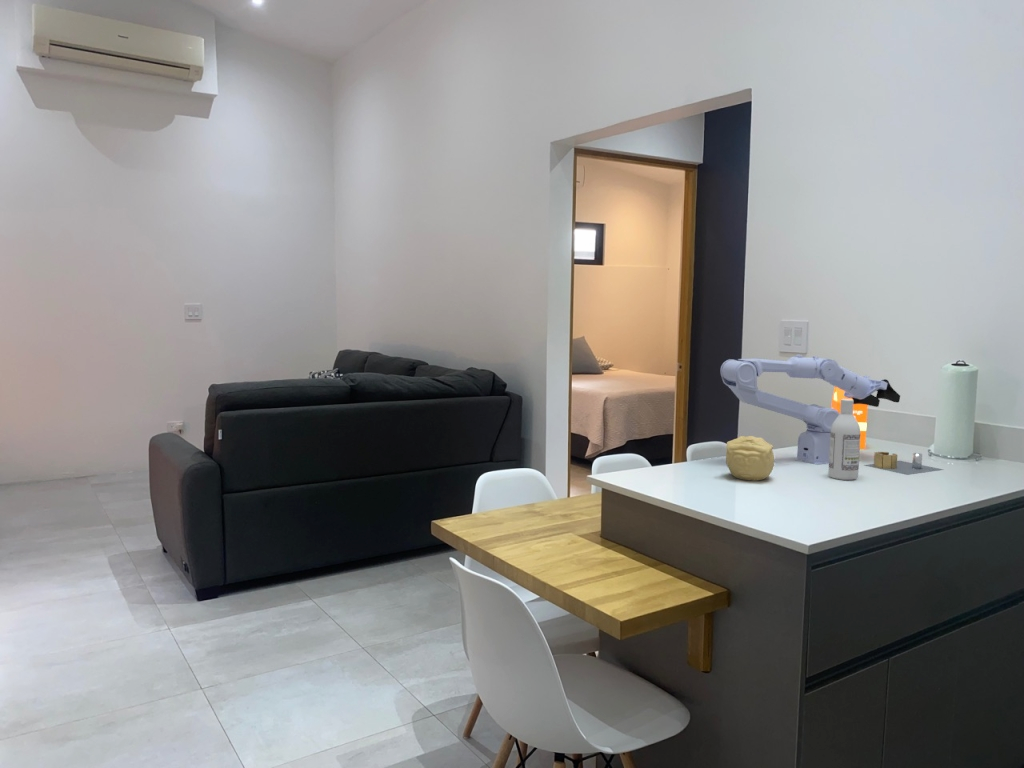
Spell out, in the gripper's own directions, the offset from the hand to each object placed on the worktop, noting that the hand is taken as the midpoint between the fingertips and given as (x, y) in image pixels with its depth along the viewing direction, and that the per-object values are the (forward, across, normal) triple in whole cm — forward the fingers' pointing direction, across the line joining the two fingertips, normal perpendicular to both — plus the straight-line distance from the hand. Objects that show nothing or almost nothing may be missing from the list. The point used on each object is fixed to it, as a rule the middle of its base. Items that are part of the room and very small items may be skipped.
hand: (888, 401), depth 212 cm
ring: (0, -4, +20) cm, 21 cm away
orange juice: (+8, +23, +8) cm, 26 cm away
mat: (+4, -6, +19) cm, 21 cm away
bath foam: (-16, -10, +31) cm, 37 cm away
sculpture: (-38, -5, +39) cm, 55 cm away
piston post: (+6, -8, +19) cm, 22 cm away
